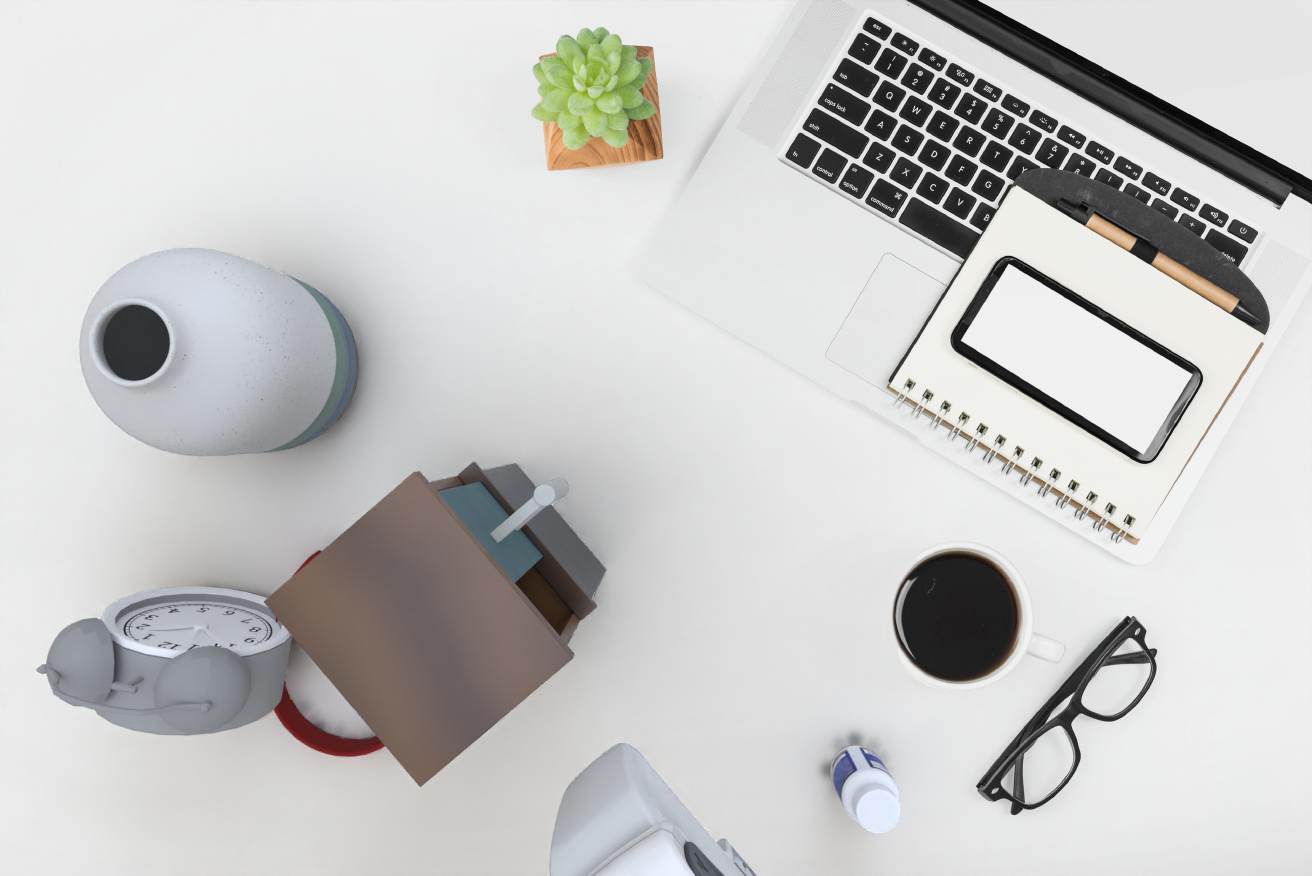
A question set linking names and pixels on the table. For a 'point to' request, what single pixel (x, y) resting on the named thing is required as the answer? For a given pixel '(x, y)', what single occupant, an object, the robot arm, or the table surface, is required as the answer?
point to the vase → (216, 355)
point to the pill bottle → (866, 789)
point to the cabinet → (438, 616)
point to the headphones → (311, 733)
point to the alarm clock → (174, 661)
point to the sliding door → (503, 522)
